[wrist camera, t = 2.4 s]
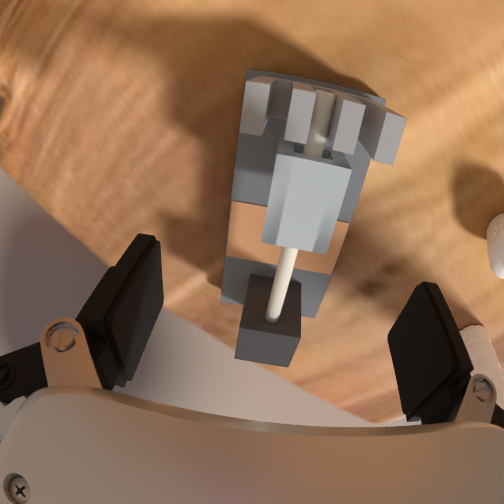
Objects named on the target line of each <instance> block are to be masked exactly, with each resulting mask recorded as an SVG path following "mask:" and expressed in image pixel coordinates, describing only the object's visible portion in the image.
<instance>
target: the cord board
mask: <svg viewBox="0 0 504 504" xmlns="http://www.w3.org/2000/svg"><path fill="white" fill-rule="evenodd" d="M385 103H386V99H384V98H381V97H379V96H376V95H372V94H369V93H365V92H362V91H358V90H355V89H351V88H347V87H343V86H340V85H335V84H331V83H327V82H323V81H318V80H314V79H309V78H304V77H299V76H293V75H288V74H282V73H276V72H269V71H262V70H255V69H247V76H246V83H245V90H244V98H243V105H242V112H241V120H240V128H239V136H238V144H237V152H236V160H235V168H234V177H233V185H232V194H231V203H230V212H229V221H228V230H227V240H226V249H225V259H224V269H223V280H222V290H221V302H226V303H231V304H236V305H242V306H244V307H243V312H242V317H241V322H240V327H239V332H238V338H237V345H236V351H235V357H234V358H235V359H240V360H246V361H251V362H257V363H263V364H269V365H276V366H282V367H289V364H290V362H291V360H292V357H293V355H294V353H295V350H296V348H297V346H298V343H299V341H300V338H301V316H305V317H311V318H315V316H316V314H317V311H318V309H319V307H320V304H321V302H322V299H323V297H324V294H325V291H326V289H327V286H328V284H329V281H330V279H331V276H332V273H333V271H334V268H335V265H336V263H337V260H338V257H339V254H340V252H341V249H342V246H343V243H344V240H345V238H346V235H347V232H348V229H349V226H350V223H351V220H352V217H353V214H354V211H355V208H356V205H357V202H358V199H359V196H360V192H361V189H362V186H363V183H364V179H365V176H366V173H367V169H368V166H369V163H370V159H371V158H372V159H373V160H374V161H378V162H381V163H385V164H388V165H392V166H393V163H394V160H395V157H396V154H397V150H398V147H399V144H400V140H401V137H402V133H403V130H404V126H405V122H406V119H407V118H405V117H403V116H401V115H400V114H398V113H396V112H394V111H392V110H391V109H389V108H387V107H385ZM280 137H284V140H287V141H292V142H298V143H303V144H305V145H304V149H303V154H306V155H311V156H316V157H320V158H322V154H323V149H324V146H328V147H331V148H332V150H335V151H339V152H343V153H344V155H345V157H346V159H347V161H348V163H349V165H350V167H351V169H352V172H351V175H350V179H349V182H348V185H347V189H346V192H345V196H344V199H343V202H342V206H341V209H340V212H339V215H338V219H337V222H336V225H335V228H334V231H333V234H332V238H331V241H330V244H329V247H328V250H327V253H326V254H320V253H315V252H310V251H305V250H299V249H294V248H288V247H283V246H278V245H272V244H267V243H261V239H262V234H263V228H264V223H265V217H266V212H267V206H268V200H269V195H270V189H271V184H272V178H273V173H274V167H275V161H276V156H277V150H278V144H279V139H280Z"/></svg>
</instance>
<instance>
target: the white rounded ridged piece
mask: <svg viewBox="0 0 504 504" xmlns="http://www.w3.org/2000/svg"><path fill="white" fill-rule="evenodd" d="M486 233H487V252H488V258H489V263H490V266H491V269H492V271H493V272H494V274H495V275H496V276H498V277H500V278H502V279H504V213H503V214H498V216H496V217H495V218H493V220H491V222H490V223H489V225H488V228H487V232H486Z"/></svg>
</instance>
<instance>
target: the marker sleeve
mask: <svg viewBox="0 0 504 504" xmlns="http://www.w3.org/2000/svg"><path fill="white" fill-rule="evenodd" d="M304 145H305V144H303V143H298V142H292V141H287V140H284V137H280V139H279V144H278V150H277V156H276V161H275V167H274V173H273V178H272V184H271V189H270V195H269V200H268V206H267V212H266V217H265V223H264V228H263V234H262V239H261V243H267V244H272V245H278V246H283V247H288V248H294V249H299V250H305V251H310V252H315V253H320V254H326V253H327V250H328V247H329V244H330V241H331V238H332V234H333V231H334V228H335V225H336V222H337V219H338V215H339V212H340V209H341V206H342V202H343V199H344V196H345V192H346V189H347V185H348V182H349V179H350V175H351V172H352V169H351V167H350V165H349V163H348V161H347V159H346V157H345V155H344V153H343V152H339V151H335V150H332V148H331V147H328V146H324V149H323V154H322V158H320V157H316V156H311V155H306V154H303V149H304Z"/></svg>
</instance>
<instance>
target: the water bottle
mask: <svg viewBox="0 0 504 504" xmlns="http://www.w3.org/2000/svg"><path fill="white" fill-rule="evenodd" d="M459 332H460V334H461V336H462V339H463V341H464V344H465V346H466V349H467V351H468V354H469V356H470V359H471V362H472V364H473V367H474V370H473V371H472V372H471V373H470V374H471V377H472V376H473V375H475V374H483V375H485V376H487V377H488V378H489V379H490V380H491V381H492V382H493V384H494V386H495V388H496V392H497V400H496V404H497V405H499V406H500V407H501V408H502V409H503V410H504V374H503V371H502V369H501V366H500V363H499V360H498V358H497V357H496V353H495V350H494V348H493V346H492V344H491V340H490V338H489V336H488V333H487V331H486V329H485V328H484V327H483V326H481V325H476V326H474V325H472V326H468V327H465V328H464V329H463V330H462V331H461V330H460V331H459Z"/></svg>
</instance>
